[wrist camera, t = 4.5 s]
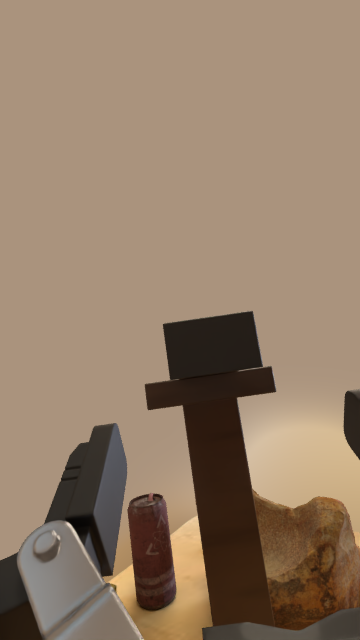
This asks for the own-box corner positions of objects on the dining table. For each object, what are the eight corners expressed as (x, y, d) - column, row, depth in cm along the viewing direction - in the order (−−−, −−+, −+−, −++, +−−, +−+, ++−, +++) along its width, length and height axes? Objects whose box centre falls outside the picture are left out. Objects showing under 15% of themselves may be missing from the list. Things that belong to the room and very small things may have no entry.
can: (177, 581, 54) (166, 489, 56) (175, 608, 48) (163, 503, 50) (140, 586, 54) (131, 494, 56) (134, 613, 48) (123, 509, 50)
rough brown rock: (161, 639, 43) (144, 521, 44) (223, 560, 57) (208, 471, 58) (359, 738, 30) (325, 563, 31) (378, 604, 43) (354, 486, 44)
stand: (201, 744, 29) (156, 382, 35) (313, 730, 29) (249, 369, 35) (207, 990, 18) (137, 385, 23) (394, 968, 18) (279, 364, 23)
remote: (182, 378, 35) (179, 351, 35) (222, 373, 34) (218, 345, 35) (170, 380, 15) (162, 318, 15) (263, 366, 15) (252, 305, 15)
